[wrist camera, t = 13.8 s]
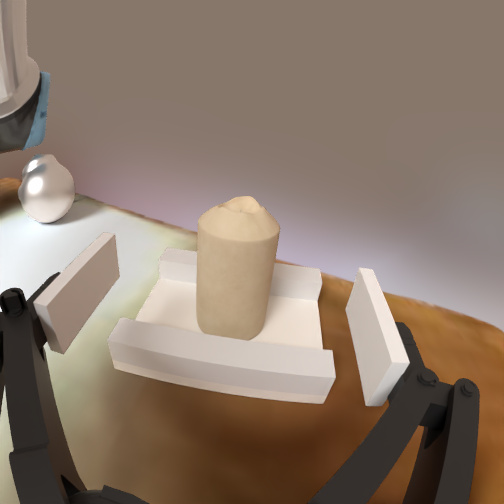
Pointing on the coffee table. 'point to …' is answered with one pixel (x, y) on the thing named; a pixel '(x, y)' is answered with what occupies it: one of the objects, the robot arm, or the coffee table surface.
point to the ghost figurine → (46, 189)
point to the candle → (235, 268)
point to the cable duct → (229, 349)
